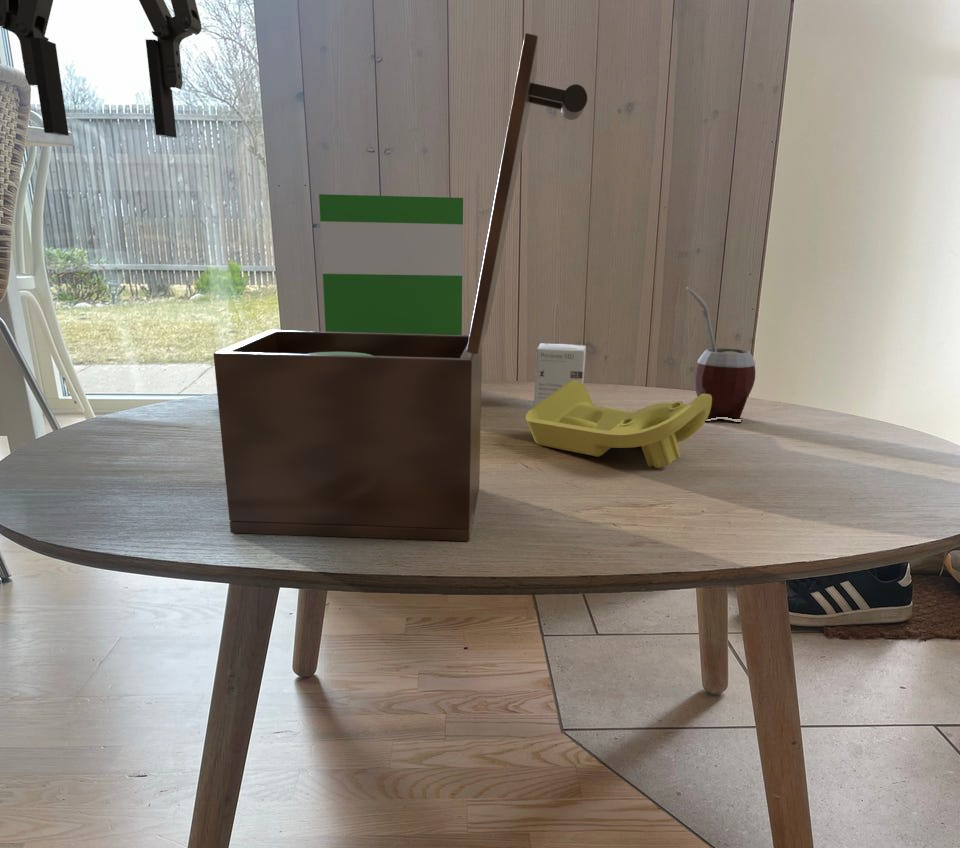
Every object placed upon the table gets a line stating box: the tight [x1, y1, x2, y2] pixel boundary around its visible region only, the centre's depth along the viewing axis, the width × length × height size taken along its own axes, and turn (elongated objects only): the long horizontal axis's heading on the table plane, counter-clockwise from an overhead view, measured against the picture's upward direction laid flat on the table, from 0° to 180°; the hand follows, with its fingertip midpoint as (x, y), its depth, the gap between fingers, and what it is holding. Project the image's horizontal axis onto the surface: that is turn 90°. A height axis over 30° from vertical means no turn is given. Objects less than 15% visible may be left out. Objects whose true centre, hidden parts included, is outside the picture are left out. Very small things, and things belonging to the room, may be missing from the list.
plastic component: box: [525, 380, 712, 469], centre depth 93 cm, size 20×7×10 cm
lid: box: [467, 32, 588, 354], centre depth 65 cm, size 19×15×5 cm
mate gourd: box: [685, 286, 756, 419], centre depth 110 cm, size 8×8×15 cm
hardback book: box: [318, 193, 464, 335], centre depth 122 cm, size 18×7×24 cm, turn 97°
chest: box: [213, 329, 483, 542], centre depth 72 cm, size 18×15×13 cm
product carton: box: [533, 342, 587, 407], centre depth 117 cm, size 6×6×7 cm
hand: (111, 135), depth 75 cm, fingers open, 8 cm apart
